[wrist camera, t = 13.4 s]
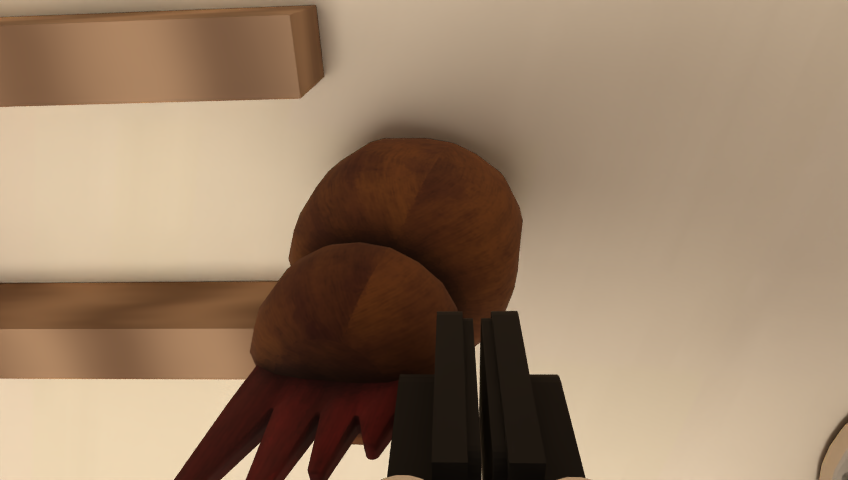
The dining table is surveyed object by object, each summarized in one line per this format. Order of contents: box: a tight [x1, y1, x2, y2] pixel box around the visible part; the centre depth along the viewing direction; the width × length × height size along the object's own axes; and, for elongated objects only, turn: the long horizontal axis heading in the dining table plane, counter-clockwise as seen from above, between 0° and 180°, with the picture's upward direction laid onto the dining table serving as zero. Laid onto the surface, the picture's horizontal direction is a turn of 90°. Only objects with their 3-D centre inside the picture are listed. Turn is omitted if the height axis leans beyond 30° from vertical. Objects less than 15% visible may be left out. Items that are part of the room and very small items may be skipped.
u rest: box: [0, 5, 324, 379], centre depth 22 cm, size 18×13×4 cm
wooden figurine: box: [174, 138, 523, 480], centre depth 16 cm, size 7×6×15 cm
